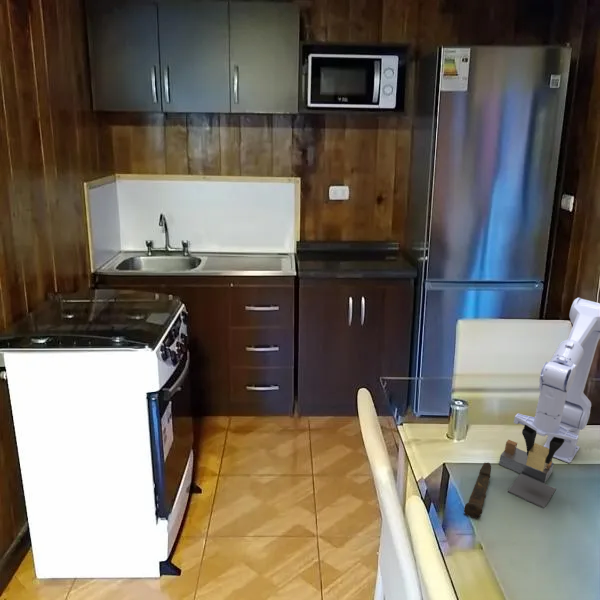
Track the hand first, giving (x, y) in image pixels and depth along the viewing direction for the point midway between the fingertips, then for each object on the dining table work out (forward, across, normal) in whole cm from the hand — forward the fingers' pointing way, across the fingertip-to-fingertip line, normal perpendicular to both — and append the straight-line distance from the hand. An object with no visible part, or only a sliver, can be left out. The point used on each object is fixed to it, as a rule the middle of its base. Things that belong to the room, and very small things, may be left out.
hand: (539, 457), depth 147 cm
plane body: (+10, -4, +8) cm, 14 cm away
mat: (+10, 0, 0) cm, 10 cm away
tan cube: (+2, 0, 0) cm, 2 cm away
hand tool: (+10, -10, -10) cm, 18 cm away
